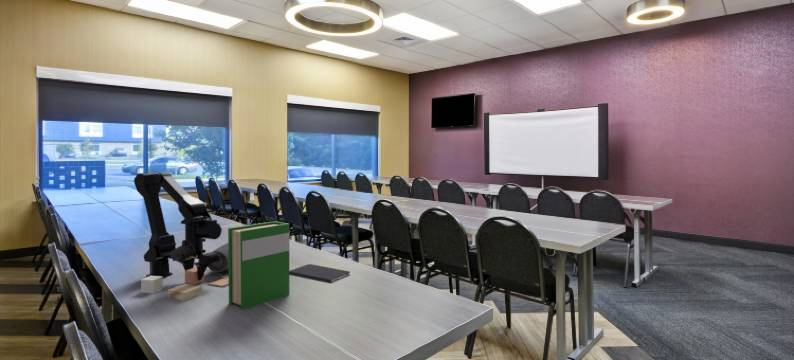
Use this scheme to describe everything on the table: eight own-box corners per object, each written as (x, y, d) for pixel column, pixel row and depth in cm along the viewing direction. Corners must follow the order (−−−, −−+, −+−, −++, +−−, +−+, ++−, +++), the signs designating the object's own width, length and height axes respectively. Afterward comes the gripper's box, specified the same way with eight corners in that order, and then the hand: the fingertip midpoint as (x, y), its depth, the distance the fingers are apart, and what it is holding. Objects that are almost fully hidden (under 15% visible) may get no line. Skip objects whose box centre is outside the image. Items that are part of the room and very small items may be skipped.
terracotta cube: (184, 282, 151) (184, 270, 151) (195, 279, 155) (195, 267, 155) (194, 284, 149) (194, 272, 149) (204, 281, 154) (204, 268, 153)
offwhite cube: (141, 292, 140) (141, 279, 140) (150, 288, 145) (150, 275, 144) (153, 293, 140) (153, 280, 139) (162, 289, 144) (162, 276, 144)
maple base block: (167, 298, 136) (167, 289, 136) (185, 292, 142) (185, 283, 142) (184, 301, 133) (184, 292, 133) (201, 295, 140) (201, 286, 140)
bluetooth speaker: (229, 275, 160) (228, 250, 160) (205, 275, 161) (204, 249, 160) (251, 260, 183) (250, 237, 182) (229, 260, 183) (229, 237, 183)
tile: (207, 284, 149) (207, 283, 149) (222, 279, 156) (222, 278, 156) (222, 287, 147) (222, 286, 147) (236, 281, 153) (236, 280, 153)
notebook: (287, 275, 165) (331, 284, 154) (287, 271, 165) (331, 279, 154) (309, 267, 176) (351, 275, 166) (309, 263, 176) (351, 271, 165)
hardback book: (242, 309, 127) (242, 231, 125) (228, 304, 131) (228, 228, 130) (289, 294, 141) (289, 223, 139) (275, 289, 145) (275, 221, 144)
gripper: (155, 238, 147) (156, 281, 148) (194, 243, 140) (195, 289, 141) (182, 232, 158) (183, 273, 159) (220, 237, 151) (220, 280, 152)
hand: (194, 279), depth 152 cm, fingers closed on terracotta cube, 4 cm apart
